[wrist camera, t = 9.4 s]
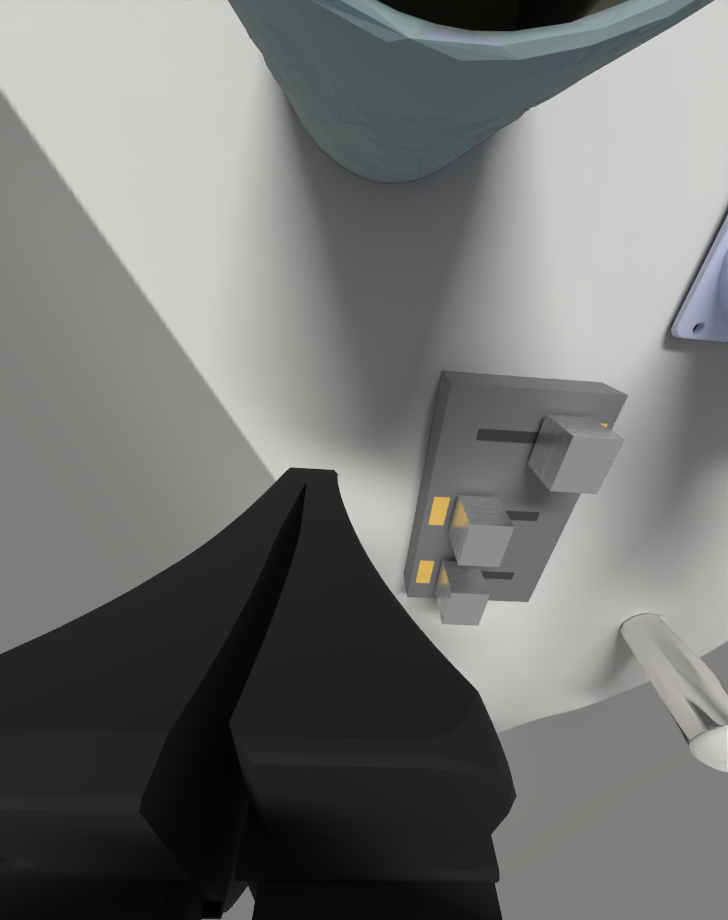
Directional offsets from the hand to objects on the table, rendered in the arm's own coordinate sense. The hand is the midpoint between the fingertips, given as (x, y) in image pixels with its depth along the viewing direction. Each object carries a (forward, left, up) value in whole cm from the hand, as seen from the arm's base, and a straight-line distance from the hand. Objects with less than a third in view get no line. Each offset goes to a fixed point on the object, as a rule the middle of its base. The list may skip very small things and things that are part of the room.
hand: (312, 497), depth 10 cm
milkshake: (-26, +18, -10) cm, 33 cm away
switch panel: (-10, +6, -9) cm, 15 cm away
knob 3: (-11, +1, -7) cm, 14 cm away
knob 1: (-8, +6, -7) cm, 13 cm away
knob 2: (-8, +11, -7) cm, 16 cm away
